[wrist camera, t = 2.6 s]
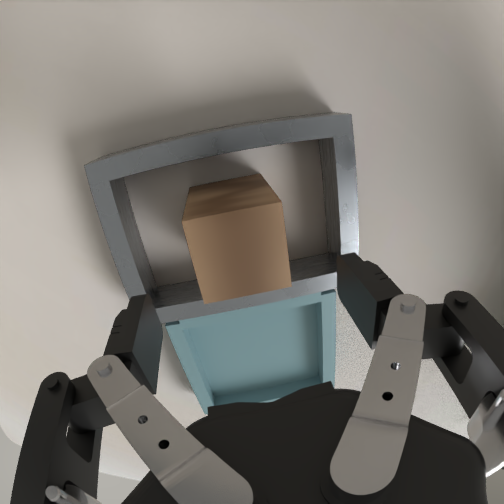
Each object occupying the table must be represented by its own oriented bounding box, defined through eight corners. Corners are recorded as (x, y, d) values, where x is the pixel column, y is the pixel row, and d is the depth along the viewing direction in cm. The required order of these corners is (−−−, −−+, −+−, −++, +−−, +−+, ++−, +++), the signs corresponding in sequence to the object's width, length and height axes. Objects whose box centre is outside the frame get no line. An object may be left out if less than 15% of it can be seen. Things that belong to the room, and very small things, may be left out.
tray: (325, 269, 26) (335, 285, 23) (327, 374, 32) (334, 391, 29) (166, 301, 25) (162, 320, 23) (205, 399, 31) (206, 417, 29)
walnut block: (260, 173, 22) (281, 202, 15) (270, 237, 24) (291, 286, 18) (189, 187, 21) (181, 221, 15) (204, 250, 24) (204, 304, 17)
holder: (333, 112, 20) (351, 114, 18) (343, 264, 26) (358, 282, 23) (99, 157, 19) (84, 165, 17) (146, 304, 25) (141, 326, 22)
